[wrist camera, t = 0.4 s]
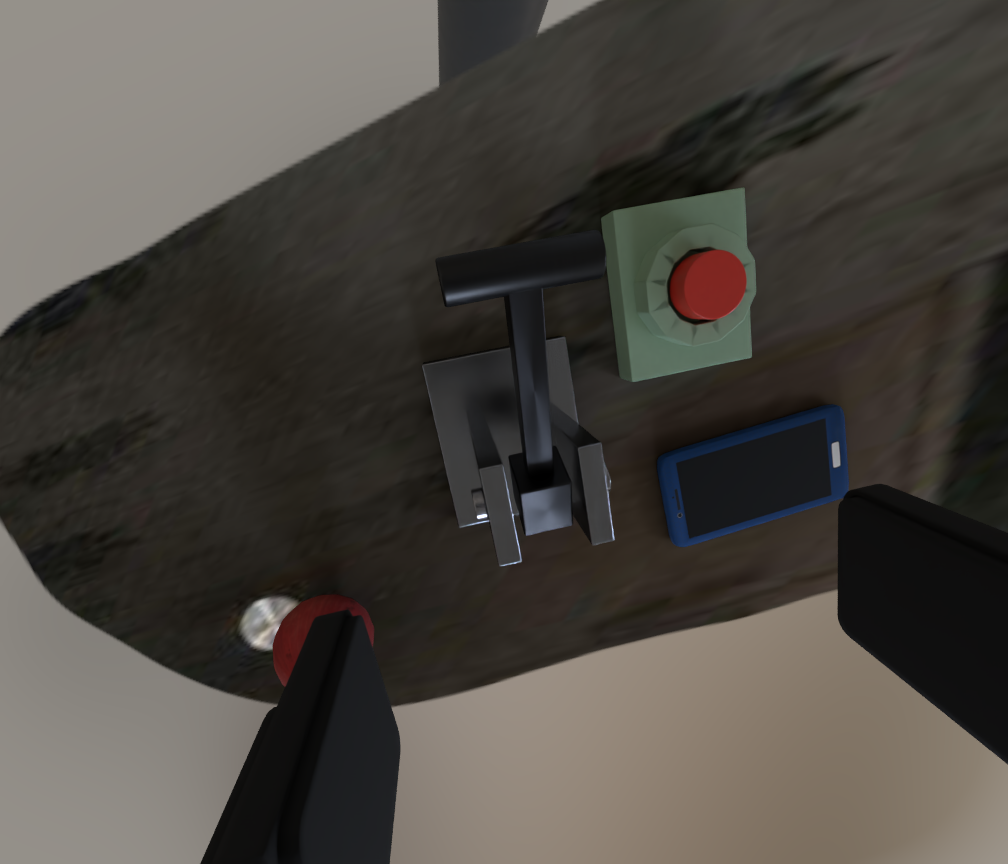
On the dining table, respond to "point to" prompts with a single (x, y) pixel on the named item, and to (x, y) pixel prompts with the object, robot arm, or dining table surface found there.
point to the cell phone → (754, 475)
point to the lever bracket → (510, 443)
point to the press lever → (529, 352)
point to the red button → (708, 285)
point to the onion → (299, 624)
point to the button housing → (646, 283)
